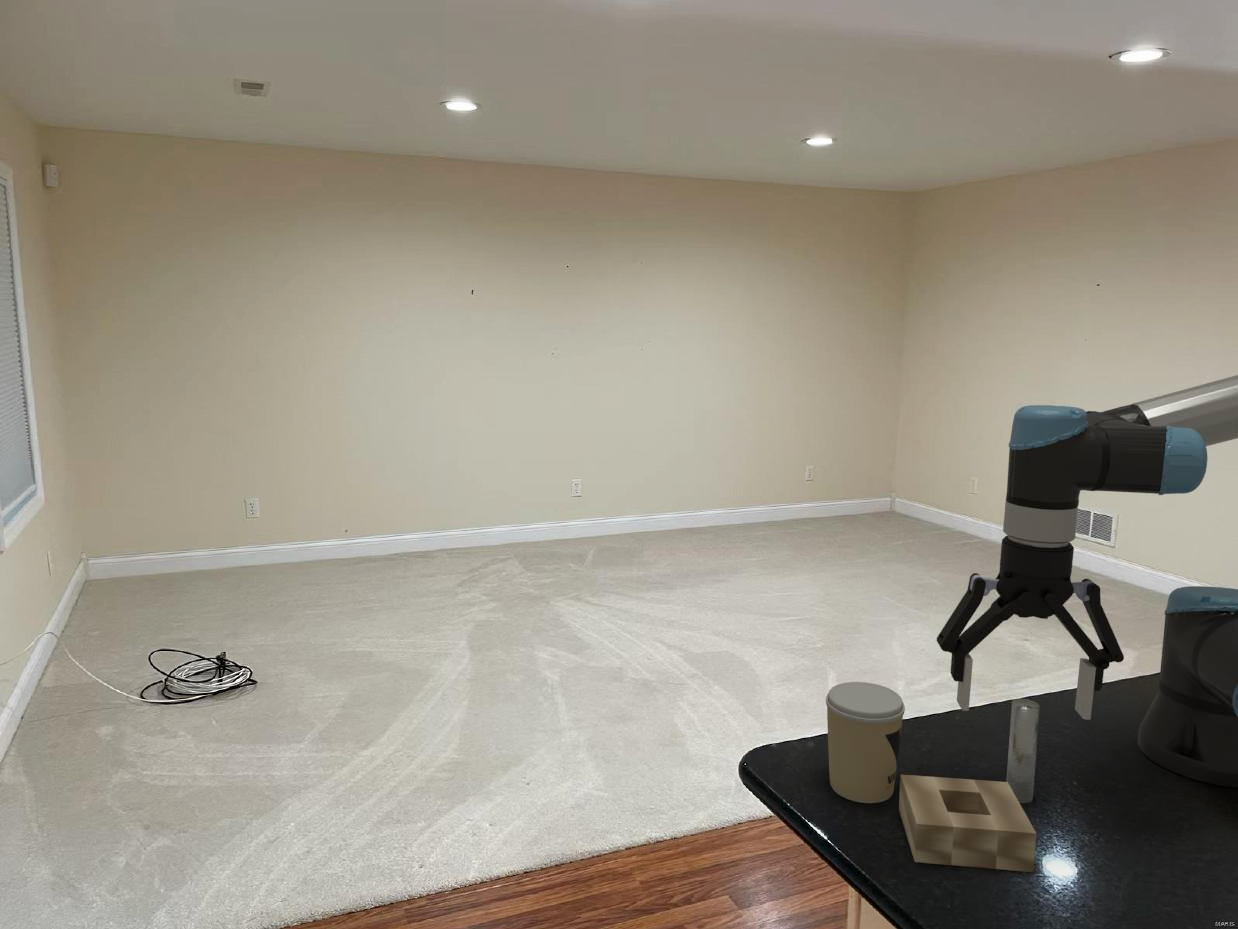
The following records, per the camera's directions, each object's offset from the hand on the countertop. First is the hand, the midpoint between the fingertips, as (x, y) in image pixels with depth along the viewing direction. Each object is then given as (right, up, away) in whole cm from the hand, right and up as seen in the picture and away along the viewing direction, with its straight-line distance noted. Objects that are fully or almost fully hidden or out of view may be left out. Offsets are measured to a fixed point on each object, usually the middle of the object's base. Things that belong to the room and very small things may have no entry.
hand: (1021, 710), depth 100 cm
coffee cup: (-18, -11, +4) cm, 22 cm away
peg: (+1, -11, +2) cm, 11 cm away
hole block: (-10, -13, -7) cm, 17 cm away
